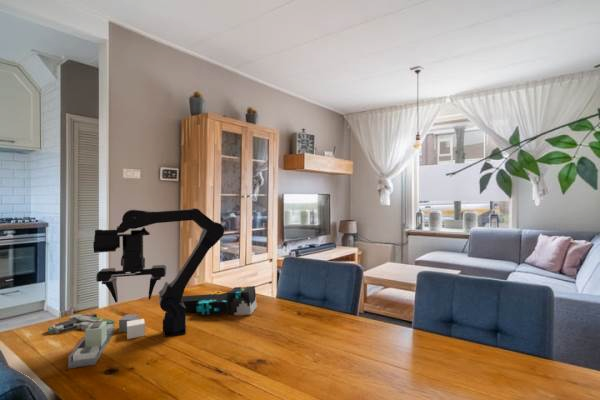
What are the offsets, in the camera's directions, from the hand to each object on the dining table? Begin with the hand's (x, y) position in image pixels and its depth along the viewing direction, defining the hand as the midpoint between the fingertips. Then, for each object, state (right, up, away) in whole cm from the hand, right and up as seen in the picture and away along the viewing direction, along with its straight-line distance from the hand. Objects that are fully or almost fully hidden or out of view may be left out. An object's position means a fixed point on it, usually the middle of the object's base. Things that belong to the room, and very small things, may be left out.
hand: (133, 300), depth 101 cm
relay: (-1, -12, +4) cm, 13 cm away
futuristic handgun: (-22, -13, +9) cm, 27 cm away
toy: (+19, -12, +26) cm, 35 cm away
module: (-8, -11, -6) cm, 14 cm away
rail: (-9, -12, -6) cm, 16 cm away
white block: (-6, -12, +9) cm, 16 cm away
